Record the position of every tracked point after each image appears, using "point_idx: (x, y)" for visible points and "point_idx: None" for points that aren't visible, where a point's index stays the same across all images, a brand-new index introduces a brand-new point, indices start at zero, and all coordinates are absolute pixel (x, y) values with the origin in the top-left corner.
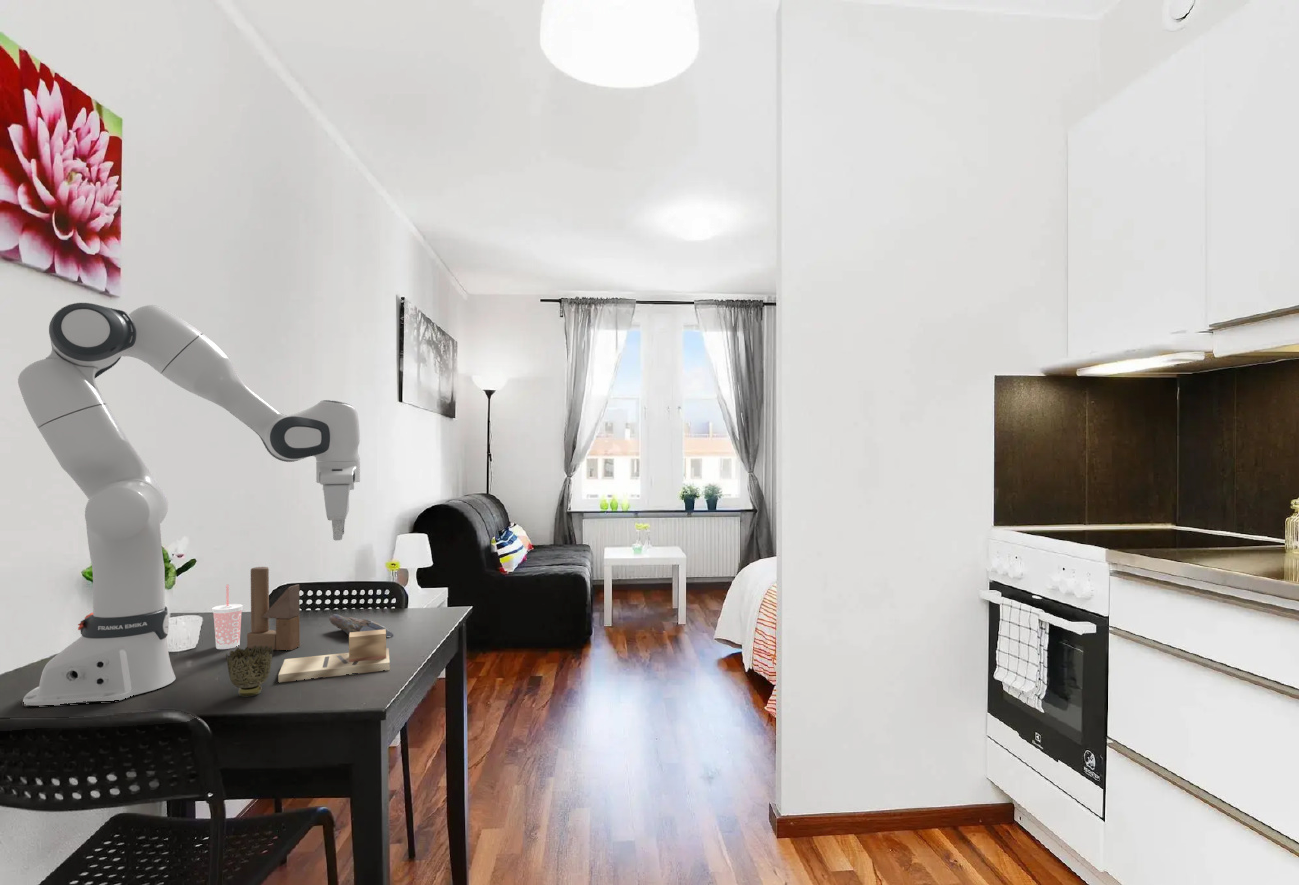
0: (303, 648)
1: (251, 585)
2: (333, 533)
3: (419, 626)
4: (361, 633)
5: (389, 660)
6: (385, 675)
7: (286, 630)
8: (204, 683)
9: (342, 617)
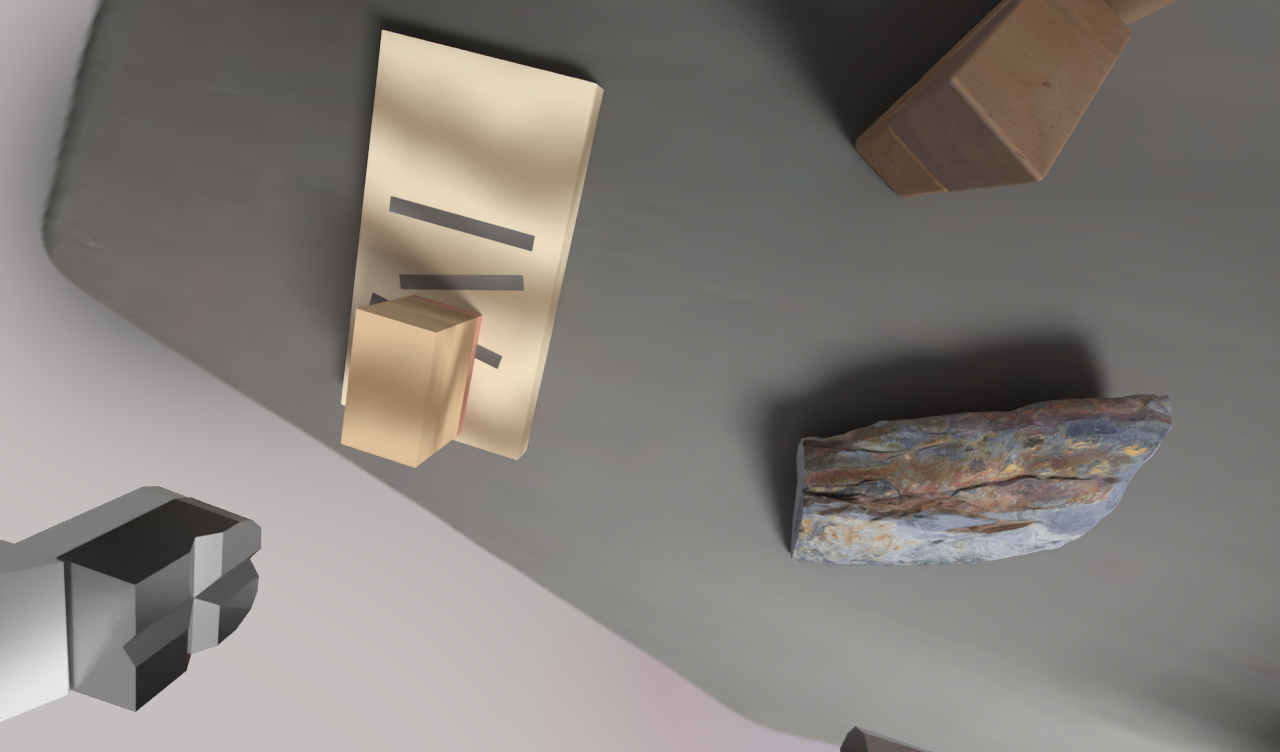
0: (861, 207)
1: None
2: (47, 536)
3: (886, 685)
4: (392, 368)
5: None
6: (309, 368)
7: (885, 116)
8: None
9: (1058, 444)
